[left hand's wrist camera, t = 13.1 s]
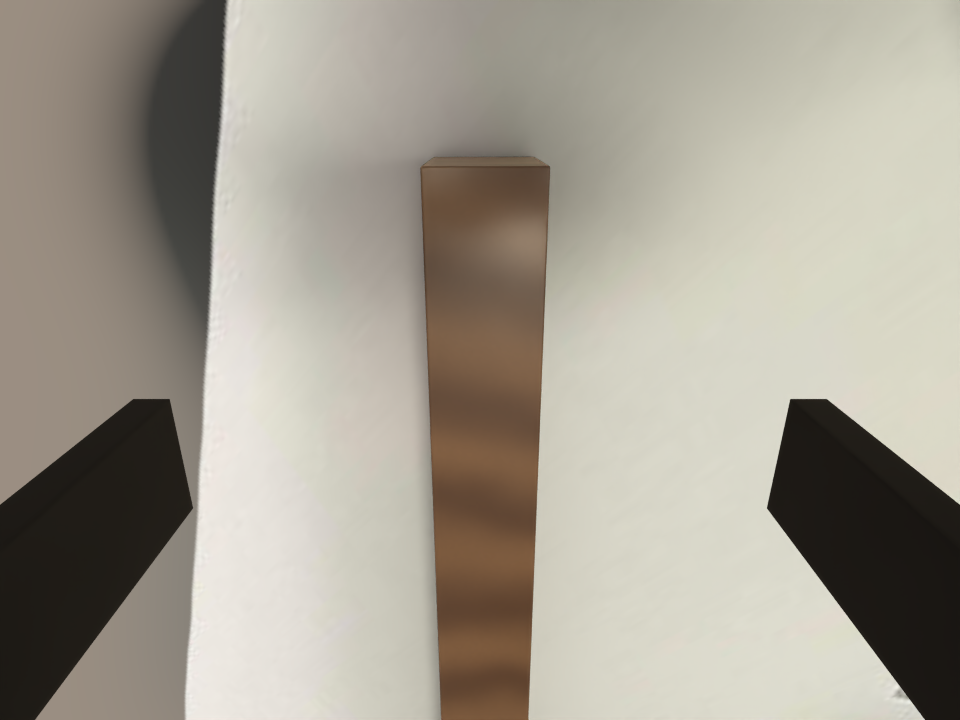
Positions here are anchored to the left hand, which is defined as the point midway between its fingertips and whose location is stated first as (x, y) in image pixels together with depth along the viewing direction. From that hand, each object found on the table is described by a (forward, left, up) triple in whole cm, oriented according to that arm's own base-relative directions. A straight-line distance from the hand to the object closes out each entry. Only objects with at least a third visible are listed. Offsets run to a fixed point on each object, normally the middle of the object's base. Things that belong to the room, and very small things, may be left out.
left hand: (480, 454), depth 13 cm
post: (+31, +7, -23) cm, 40 cm away
